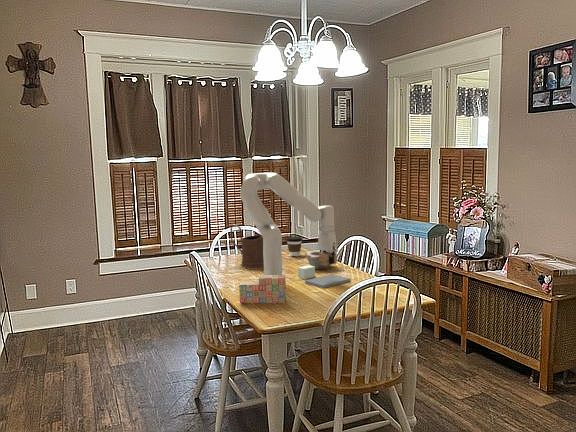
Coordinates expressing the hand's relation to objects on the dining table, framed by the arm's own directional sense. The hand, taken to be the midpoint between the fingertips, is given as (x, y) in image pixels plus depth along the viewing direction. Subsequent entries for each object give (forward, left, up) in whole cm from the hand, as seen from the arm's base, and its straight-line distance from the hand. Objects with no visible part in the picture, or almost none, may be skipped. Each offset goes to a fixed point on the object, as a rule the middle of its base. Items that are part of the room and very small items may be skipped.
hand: (328, 262), depth 277 cm
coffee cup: (+32, +66, -11) cm, 74 cm away
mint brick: (-1, +16, -11) cm, 19 cm away
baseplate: (0, 0, -11) cm, 11 cm away
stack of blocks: (-47, -5, -11) cm, 48 cm away
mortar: (+20, +27, -11) cm, 35 cm away
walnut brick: (0, 0, -1) cm, 1 cm away
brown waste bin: (-5, +64, -11) cm, 65 cm away
